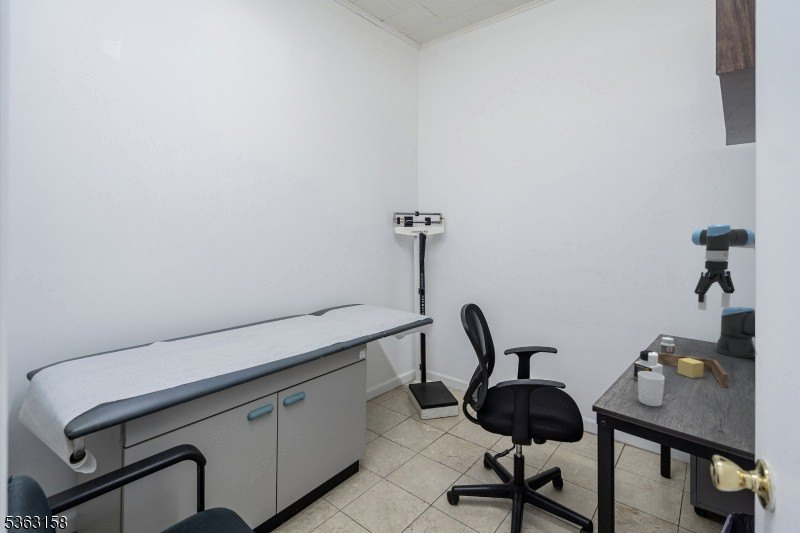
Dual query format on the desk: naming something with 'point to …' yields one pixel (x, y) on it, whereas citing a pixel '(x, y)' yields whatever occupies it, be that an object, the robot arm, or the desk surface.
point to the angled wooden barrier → (708, 363)
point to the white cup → (650, 388)
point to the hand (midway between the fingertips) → (713, 308)
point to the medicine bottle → (647, 363)
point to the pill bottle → (667, 345)
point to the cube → (690, 367)
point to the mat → (690, 377)
